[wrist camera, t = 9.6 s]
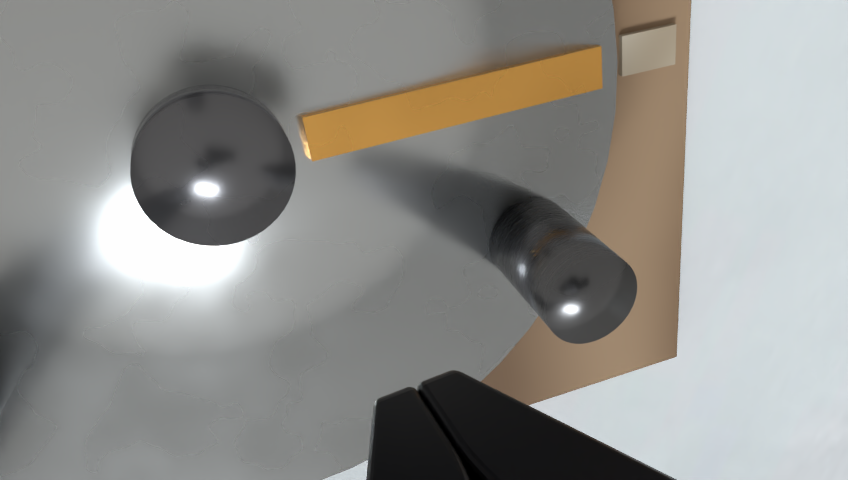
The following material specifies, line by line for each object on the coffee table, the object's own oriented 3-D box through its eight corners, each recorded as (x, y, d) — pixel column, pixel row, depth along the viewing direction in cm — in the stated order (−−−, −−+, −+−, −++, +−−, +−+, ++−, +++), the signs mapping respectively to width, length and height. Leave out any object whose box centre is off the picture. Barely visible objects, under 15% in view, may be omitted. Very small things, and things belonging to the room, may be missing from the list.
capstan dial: (-68, 598, 19) (-110, 745, 16) (-726, -347, 10) (-1131, -441, 7) (614, 367, 23) (688, 448, 20) (593, -460, 14) (726, -554, 11)
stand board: (-124, 604, 20) (-132, 626, 19) (-841, -385, 10) (-899, -399, 9) (667, 347, 25) (679, 359, 24) (695, -478, 15) (716, -491, 14)
